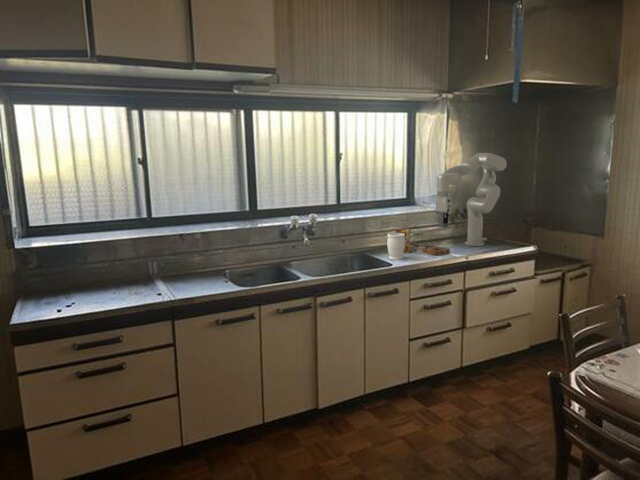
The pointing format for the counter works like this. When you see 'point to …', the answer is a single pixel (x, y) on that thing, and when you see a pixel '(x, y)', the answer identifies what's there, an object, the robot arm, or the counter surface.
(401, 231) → the candy box
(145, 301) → the counter surface
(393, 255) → the jar
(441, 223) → the grey rectangular block
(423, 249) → the socket block
